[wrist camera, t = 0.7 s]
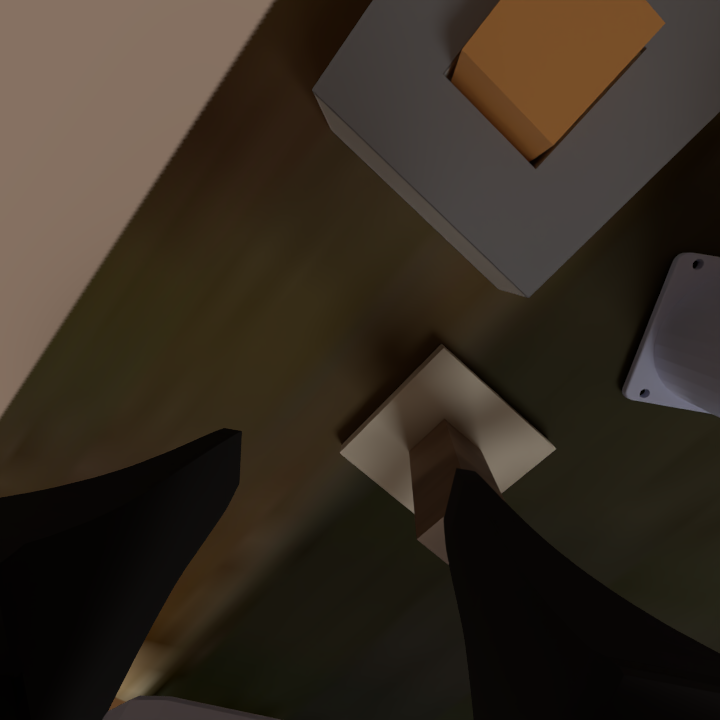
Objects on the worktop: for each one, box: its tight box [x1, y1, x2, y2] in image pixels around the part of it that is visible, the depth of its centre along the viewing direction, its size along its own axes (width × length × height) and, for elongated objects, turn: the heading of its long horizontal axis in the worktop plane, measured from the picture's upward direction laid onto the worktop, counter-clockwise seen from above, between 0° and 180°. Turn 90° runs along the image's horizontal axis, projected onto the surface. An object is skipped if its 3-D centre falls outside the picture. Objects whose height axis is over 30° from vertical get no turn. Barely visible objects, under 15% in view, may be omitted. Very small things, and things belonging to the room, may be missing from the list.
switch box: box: [312, 0, 720, 298], centre depth 15 cm, size 12×12×4 cm
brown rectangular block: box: [409, 419, 505, 565], centre depth 18 cm, size 3×3×7 cm
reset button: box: [451, 0, 665, 162], centre depth 13 cm, size 4×4×3 cm
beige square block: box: [340, 344, 556, 514], centre depth 22 cm, size 9×9×1 cm
